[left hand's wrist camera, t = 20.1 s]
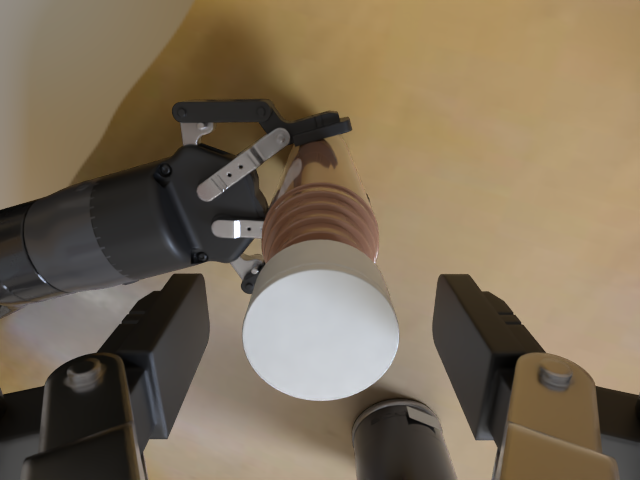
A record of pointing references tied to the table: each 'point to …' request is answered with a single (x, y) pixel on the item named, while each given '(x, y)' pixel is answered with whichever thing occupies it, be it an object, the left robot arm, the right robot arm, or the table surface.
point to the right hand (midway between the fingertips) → (358, 164)
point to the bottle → (320, 201)
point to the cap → (320, 322)
